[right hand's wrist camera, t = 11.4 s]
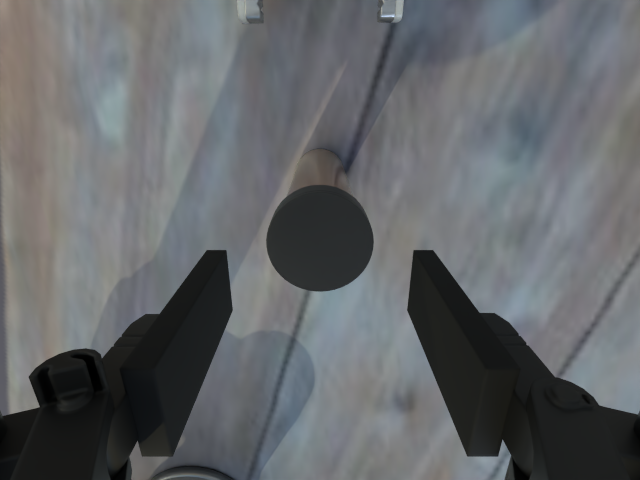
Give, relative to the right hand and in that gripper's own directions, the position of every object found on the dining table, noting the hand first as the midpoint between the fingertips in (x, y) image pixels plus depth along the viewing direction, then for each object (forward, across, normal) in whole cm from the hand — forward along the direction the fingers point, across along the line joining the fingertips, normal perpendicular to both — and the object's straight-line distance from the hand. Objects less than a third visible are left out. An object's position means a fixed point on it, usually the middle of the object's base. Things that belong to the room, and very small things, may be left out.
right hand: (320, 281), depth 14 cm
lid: (+4, 0, 0) cm, 4 cm away
